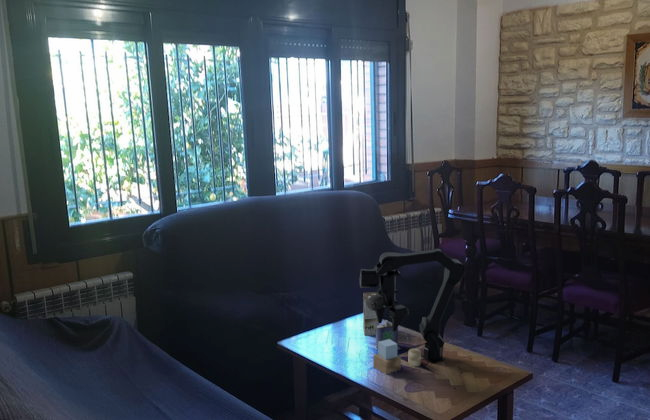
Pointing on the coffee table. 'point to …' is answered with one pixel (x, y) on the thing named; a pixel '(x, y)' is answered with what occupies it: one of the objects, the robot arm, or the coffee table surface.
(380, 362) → the tan block
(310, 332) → the coffee table surface
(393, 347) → the blue cube
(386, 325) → the flask
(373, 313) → the coffee box
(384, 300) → the robot arm
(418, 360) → the beech cylinder
